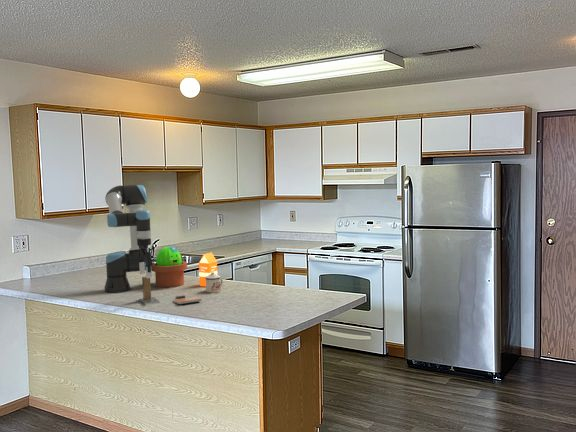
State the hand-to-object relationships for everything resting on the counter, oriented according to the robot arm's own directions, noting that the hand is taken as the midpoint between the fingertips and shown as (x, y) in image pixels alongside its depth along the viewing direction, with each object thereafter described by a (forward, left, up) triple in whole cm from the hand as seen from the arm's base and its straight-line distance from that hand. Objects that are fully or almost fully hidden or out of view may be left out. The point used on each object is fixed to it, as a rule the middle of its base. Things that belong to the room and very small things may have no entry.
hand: (145, 275), depth 306 cm
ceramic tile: (+18, +17, -12) cm, 28 cm away
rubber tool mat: (+5, 0, -14) cm, 15 cm away
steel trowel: (+4, 0, -14) cm, 14 cm away
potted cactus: (-36, +25, -14) cm, 46 cm away
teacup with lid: (0, +41, -14) cm, 43 cm away
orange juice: (-20, +45, -14) cm, 51 cm away
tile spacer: (+8, +17, -14) cm, 23 cm away
